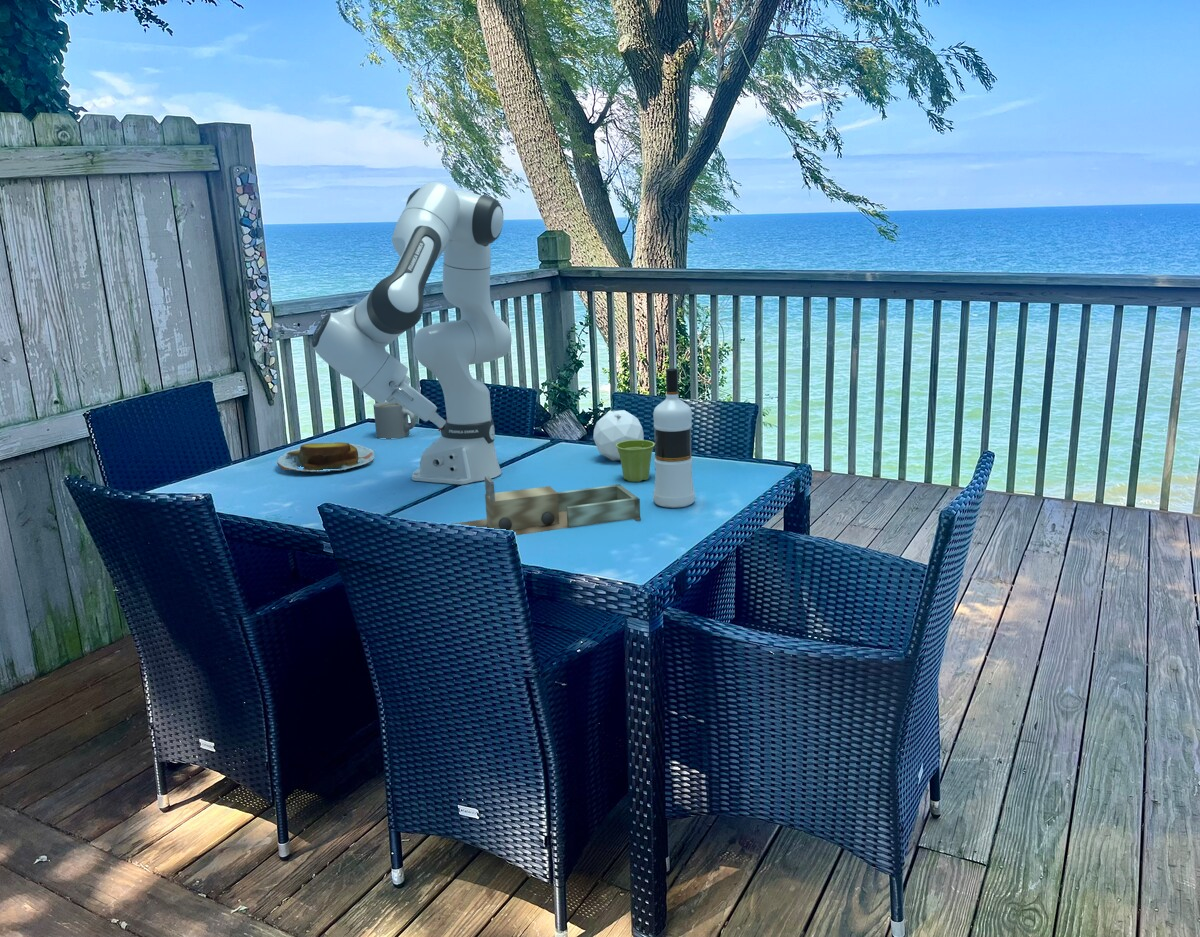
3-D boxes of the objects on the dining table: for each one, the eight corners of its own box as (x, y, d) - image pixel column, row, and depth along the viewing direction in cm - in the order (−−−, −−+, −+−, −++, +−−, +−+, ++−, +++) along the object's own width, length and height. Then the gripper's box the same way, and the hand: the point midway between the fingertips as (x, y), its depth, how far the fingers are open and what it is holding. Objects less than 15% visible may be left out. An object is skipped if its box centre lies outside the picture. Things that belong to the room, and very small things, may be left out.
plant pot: (652, 484, 221) (651, 449, 218) (613, 483, 223) (612, 448, 220) (658, 474, 230) (657, 440, 227) (620, 473, 231) (619, 439, 229)
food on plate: (368, 449, 269) (366, 427, 267) (384, 469, 246) (382, 445, 244) (274, 460, 259) (271, 437, 257) (281, 482, 236) (278, 457, 235)
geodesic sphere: (655, 444, 236) (644, 396, 241) (603, 449, 233) (593, 400, 238) (643, 466, 249) (633, 420, 254) (593, 471, 246) (584, 425, 251)
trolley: (494, 533, 188) (490, 483, 185) (486, 522, 195) (482, 474, 192) (560, 524, 192) (557, 475, 189) (550, 514, 199) (548, 466, 196)
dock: (462, 545, 183) (460, 523, 182) (451, 526, 195) (449, 505, 194) (640, 520, 194) (640, 499, 193) (619, 503, 206) (619, 483, 205)
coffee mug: (369, 437, 283) (366, 405, 281) (394, 431, 291) (391, 399, 289) (399, 441, 276) (396, 408, 273) (424, 435, 284) (421, 403, 281)
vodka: (675, 511, 199) (673, 373, 192) (644, 503, 206) (641, 369, 198) (703, 501, 205) (702, 367, 198) (672, 494, 212) (670, 363, 204)
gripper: (404, 371, 170) (463, 417, 175) (390, 364, 189) (443, 406, 194) (383, 398, 169) (442, 444, 174) (370, 389, 188) (424, 430, 193)
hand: (442, 424), depth 184 cm, fingers closed
